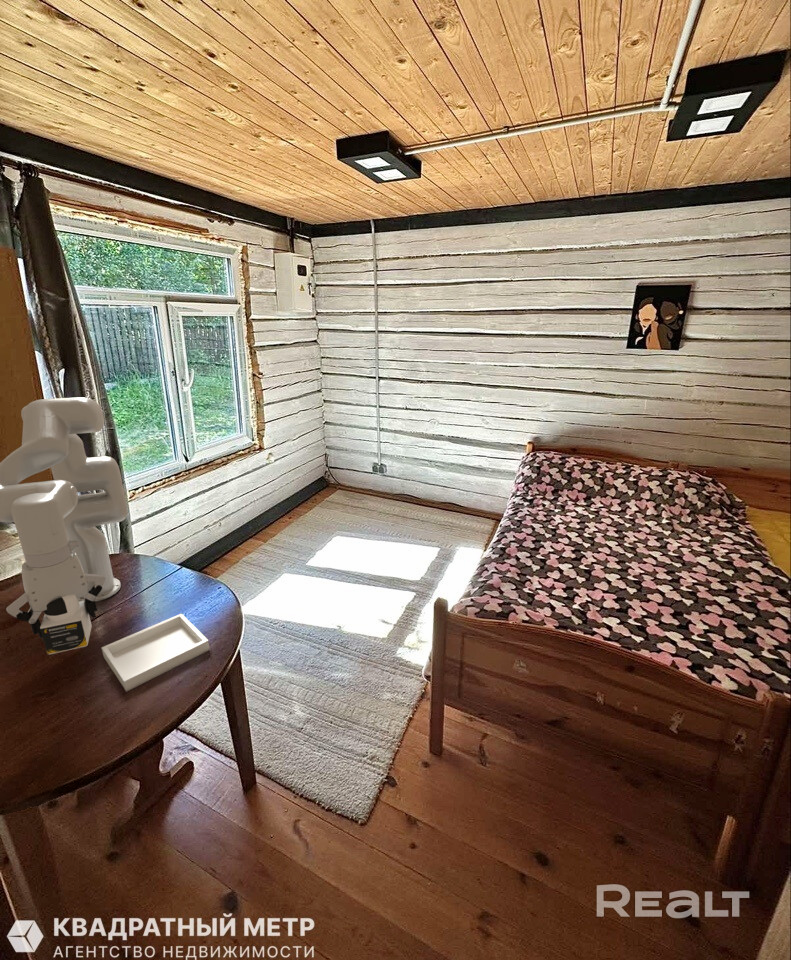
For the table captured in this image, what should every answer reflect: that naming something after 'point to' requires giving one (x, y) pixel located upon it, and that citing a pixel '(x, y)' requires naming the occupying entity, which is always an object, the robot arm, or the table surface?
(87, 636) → the medicine bottle
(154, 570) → the table surface
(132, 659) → the tray
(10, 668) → the table surface
